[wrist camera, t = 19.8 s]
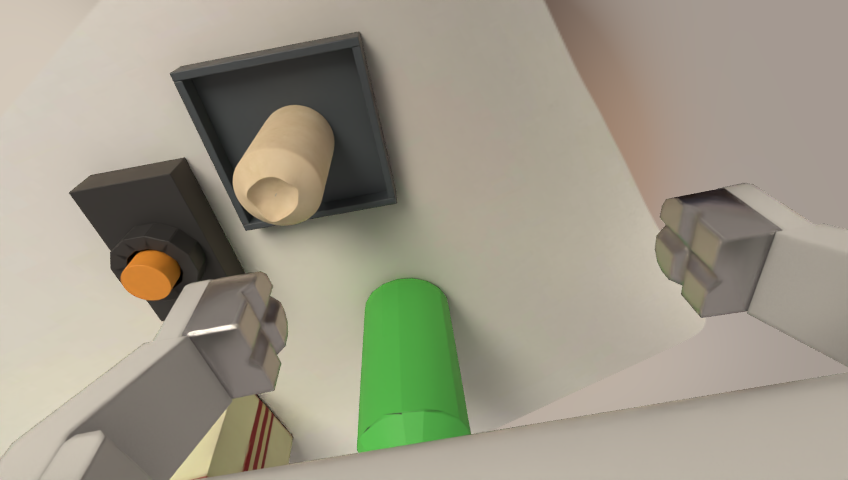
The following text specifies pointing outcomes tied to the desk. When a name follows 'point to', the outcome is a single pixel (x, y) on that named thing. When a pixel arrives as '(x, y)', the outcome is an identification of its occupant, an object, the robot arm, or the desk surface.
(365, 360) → the bottle
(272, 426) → the gift box
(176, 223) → the button base
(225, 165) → the soap tray
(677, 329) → the desk surface
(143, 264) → the orange button cap
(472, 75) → the desk surface
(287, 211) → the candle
